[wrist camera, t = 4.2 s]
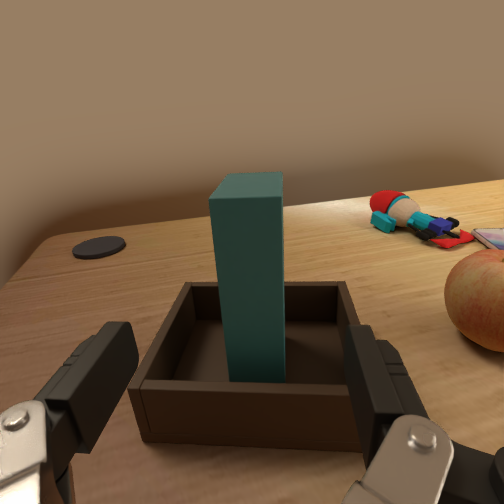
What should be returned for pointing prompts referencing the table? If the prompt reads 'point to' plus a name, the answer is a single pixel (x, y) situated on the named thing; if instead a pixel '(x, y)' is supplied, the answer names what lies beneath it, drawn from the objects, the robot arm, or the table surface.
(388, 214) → the toy figure
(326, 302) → the brown wooden tray
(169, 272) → the table surface
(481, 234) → the smartphone
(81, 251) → the coaster
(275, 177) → the block
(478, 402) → the table surface
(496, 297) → the apple
